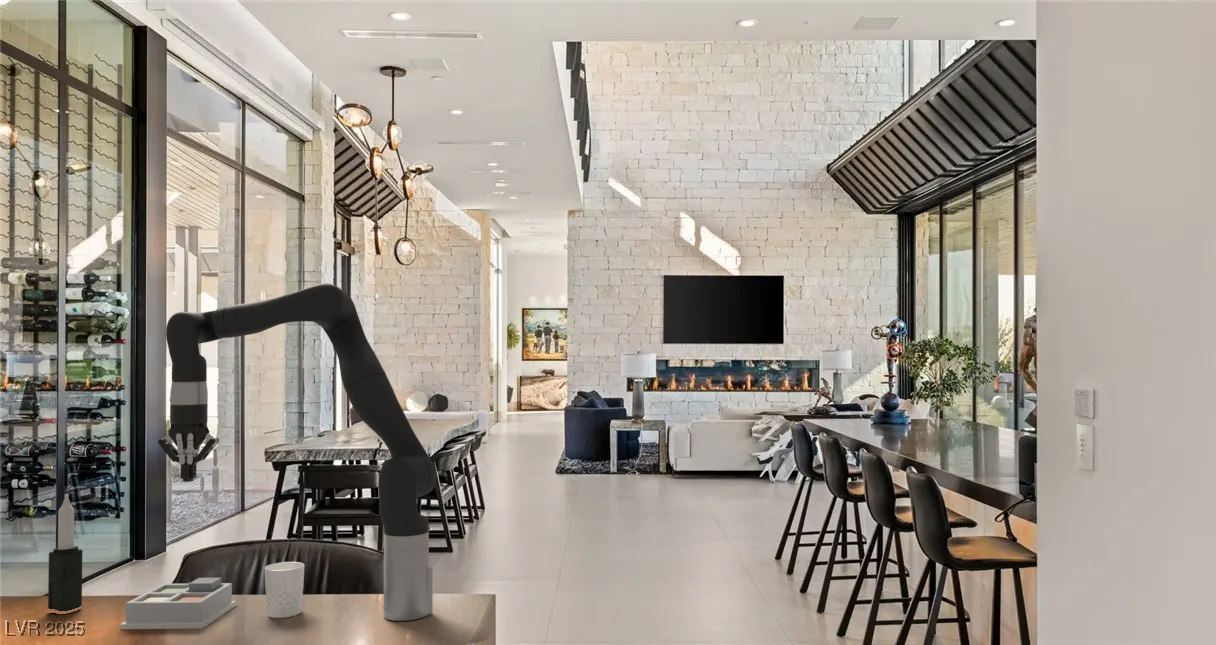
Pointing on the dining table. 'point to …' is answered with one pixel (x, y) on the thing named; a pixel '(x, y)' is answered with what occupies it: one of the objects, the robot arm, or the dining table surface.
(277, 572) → the white cup
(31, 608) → the dining table surface
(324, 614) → the dining table surface
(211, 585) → the key slate
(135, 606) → the keypad
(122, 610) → the dining table surface
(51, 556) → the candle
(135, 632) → the dining table surface
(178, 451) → the robot arm
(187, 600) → the key terracotta
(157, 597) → the key cream
